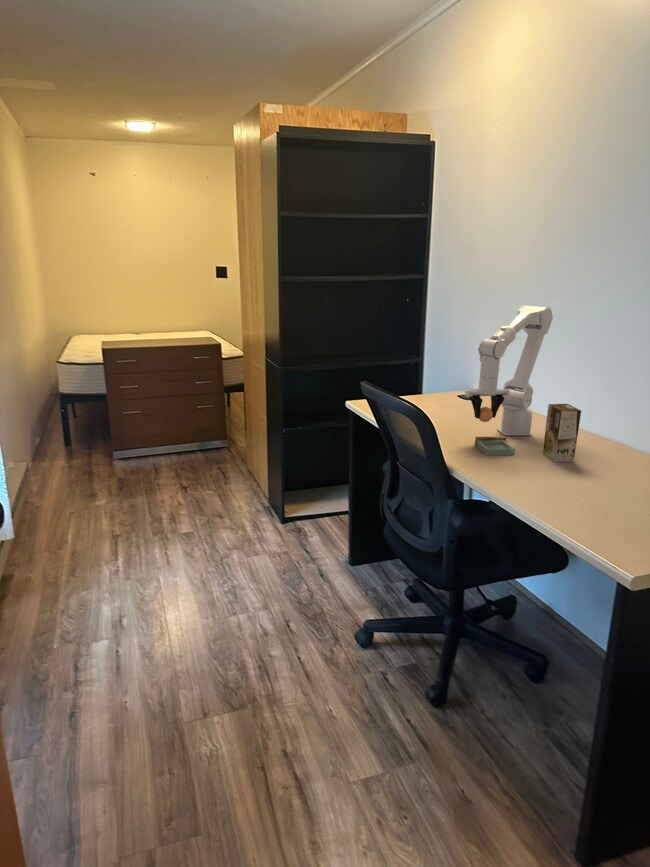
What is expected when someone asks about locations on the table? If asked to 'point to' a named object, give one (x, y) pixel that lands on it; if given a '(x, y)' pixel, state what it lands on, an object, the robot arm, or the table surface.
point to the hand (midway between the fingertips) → (484, 417)
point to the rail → (489, 439)
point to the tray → (495, 448)
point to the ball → (485, 414)
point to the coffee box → (561, 432)
